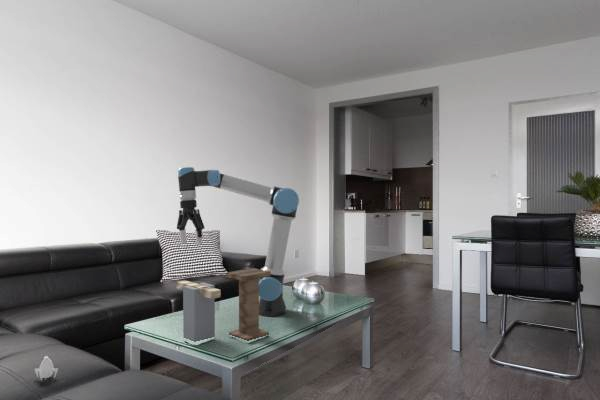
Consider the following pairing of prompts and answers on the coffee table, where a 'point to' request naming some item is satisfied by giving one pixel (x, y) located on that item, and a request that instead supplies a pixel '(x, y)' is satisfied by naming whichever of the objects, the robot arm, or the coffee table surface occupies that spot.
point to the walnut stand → (248, 303)
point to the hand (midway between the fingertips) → (191, 244)
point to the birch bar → (200, 289)
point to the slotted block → (198, 314)
